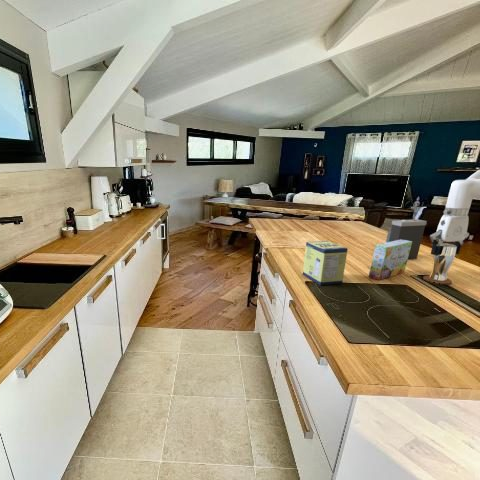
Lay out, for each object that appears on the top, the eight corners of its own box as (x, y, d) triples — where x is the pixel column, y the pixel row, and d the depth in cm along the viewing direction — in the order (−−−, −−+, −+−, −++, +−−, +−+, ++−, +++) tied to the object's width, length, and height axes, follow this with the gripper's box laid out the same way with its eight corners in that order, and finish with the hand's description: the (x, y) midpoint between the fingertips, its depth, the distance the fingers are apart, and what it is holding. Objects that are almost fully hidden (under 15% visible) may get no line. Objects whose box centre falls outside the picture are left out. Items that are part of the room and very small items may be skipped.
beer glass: (424, 276, 138) (433, 242, 133) (442, 277, 137) (451, 243, 132) (432, 281, 132) (441, 246, 127) (451, 282, 131) (461, 247, 125)
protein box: (322, 273, 147) (327, 240, 141) (342, 284, 132) (348, 248, 127) (301, 274, 145) (305, 241, 140) (320, 285, 131) (325, 249, 125)
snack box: (380, 281, 135) (387, 246, 130) (367, 277, 140) (374, 244, 134) (405, 272, 146) (413, 240, 140) (393, 269, 150) (399, 238, 145)
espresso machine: (417, 259, 167) (427, 220, 159) (393, 260, 165) (402, 221, 157) (403, 254, 175) (412, 217, 168) (380, 256, 173) (388, 218, 166)
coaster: (436, 276, 140) (437, 274, 140) (457, 283, 131) (458, 282, 131) (417, 277, 139) (417, 276, 138) (437, 285, 129) (437, 283, 129)
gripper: (445, 214, 120) (434, 257, 126) (483, 212, 122) (470, 255, 128) (428, 212, 127) (418, 253, 133) (465, 210, 129) (453, 250, 135)
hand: (444, 254), depth 131 cm, fingers open, 9 cm apart
